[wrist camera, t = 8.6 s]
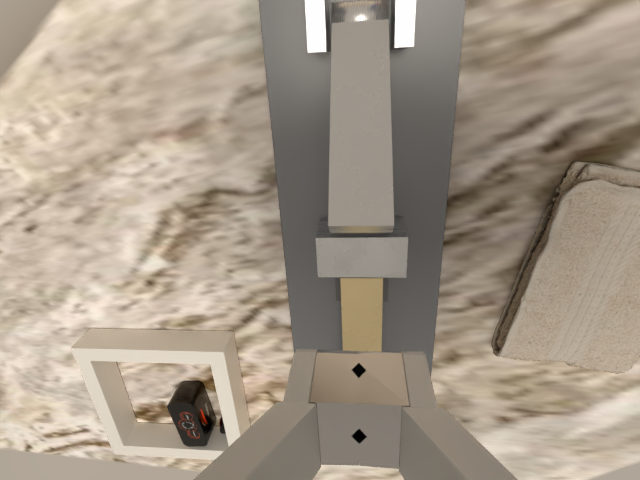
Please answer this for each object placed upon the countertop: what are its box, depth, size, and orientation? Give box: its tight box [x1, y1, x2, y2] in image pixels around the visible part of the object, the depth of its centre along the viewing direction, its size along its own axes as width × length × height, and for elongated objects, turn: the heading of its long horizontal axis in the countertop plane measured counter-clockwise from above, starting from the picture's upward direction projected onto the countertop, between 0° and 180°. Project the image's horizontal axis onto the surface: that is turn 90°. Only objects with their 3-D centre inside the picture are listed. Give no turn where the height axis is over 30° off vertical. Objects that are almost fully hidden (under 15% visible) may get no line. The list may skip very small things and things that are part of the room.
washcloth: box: [492, 161, 640, 374], centre depth 31 cm, size 12×18×3 cm, turn 174°
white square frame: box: [71, 328, 251, 460], centre depth 41 cm, size 15×15×3 cm
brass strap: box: [340, 277, 383, 352], centre depth 31 cm, size 3×13×2 cm, turn 3°
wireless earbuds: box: [167, 381, 226, 447], centre depth 42 cm, size 5×7×3 cm, turn 9°
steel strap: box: [328, 0, 394, 233], centre depth 20 cm, size 3×13×2 cm
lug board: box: [259, 0, 466, 377], centre depth 29 cm, size 12×34×6 cm, turn 3°
